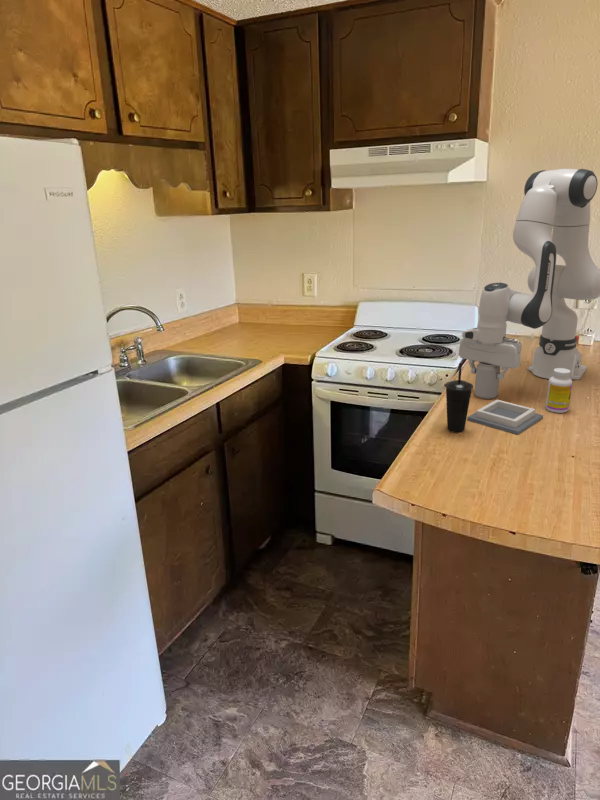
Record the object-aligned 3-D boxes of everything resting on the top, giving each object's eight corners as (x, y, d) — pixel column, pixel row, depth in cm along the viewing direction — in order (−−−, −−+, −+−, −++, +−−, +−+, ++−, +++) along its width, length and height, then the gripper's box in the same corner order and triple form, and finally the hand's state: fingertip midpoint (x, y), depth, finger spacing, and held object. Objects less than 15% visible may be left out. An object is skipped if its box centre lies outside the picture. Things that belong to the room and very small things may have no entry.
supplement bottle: (570, 414, 174) (576, 374, 169) (547, 413, 175) (552, 373, 171) (565, 406, 180) (571, 367, 175) (543, 405, 181) (548, 366, 177)
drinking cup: (470, 425, 168) (475, 360, 161) (468, 435, 162) (474, 368, 155) (443, 422, 171) (447, 358, 164) (441, 432, 164) (445, 366, 157)
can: (498, 400, 186) (502, 365, 182) (475, 399, 188) (478, 364, 183) (496, 392, 193) (499, 358, 189) (473, 391, 194) (476, 358, 190)
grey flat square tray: (493, 405, 182) (494, 396, 181) (542, 418, 172) (544, 409, 170) (467, 420, 172) (467, 410, 171) (517, 434, 161) (519, 425, 160)
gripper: (526, 338, 178) (521, 380, 182) (468, 328, 191) (464, 367, 196) (517, 342, 174) (512, 385, 178) (457, 331, 187) (454, 371, 192)
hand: (486, 376), depth 187 cm, fingers open, 8 cm apart
